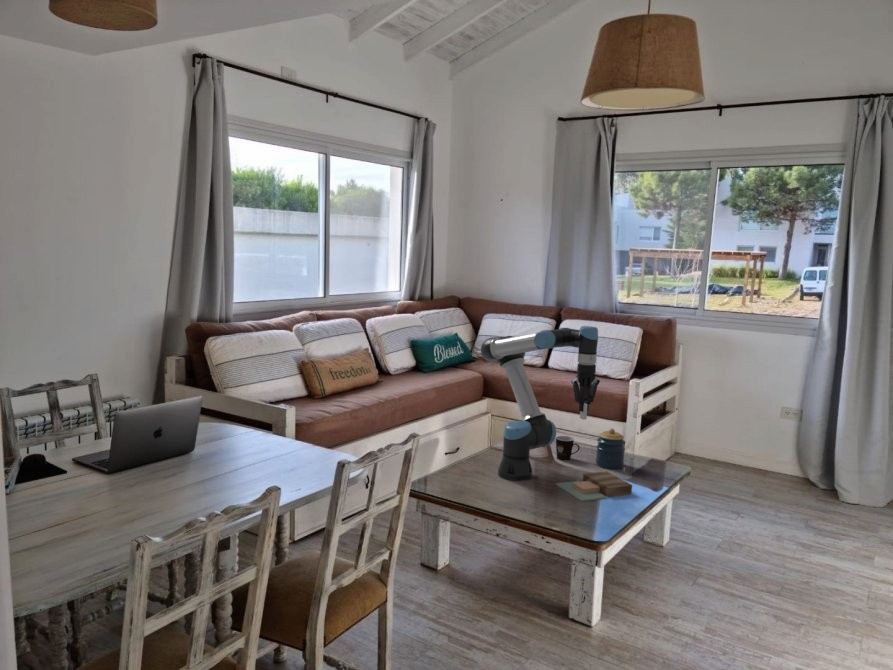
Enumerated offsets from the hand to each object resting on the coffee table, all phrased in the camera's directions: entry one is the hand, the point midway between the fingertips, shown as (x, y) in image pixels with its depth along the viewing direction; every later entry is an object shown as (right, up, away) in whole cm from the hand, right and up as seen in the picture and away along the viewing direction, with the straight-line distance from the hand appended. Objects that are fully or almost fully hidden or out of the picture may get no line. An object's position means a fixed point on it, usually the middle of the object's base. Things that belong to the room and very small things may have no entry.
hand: (583, 418), depth 290 cm
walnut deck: (+10, -30, +2) cm, 32 cm away
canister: (+19, -26, +34) cm, 47 cm away
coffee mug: (-1, -25, +39) cm, 46 cm away
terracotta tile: (+1, -29, -2) cm, 29 cm away
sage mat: (-2, -30, -3) cm, 30 cm away
